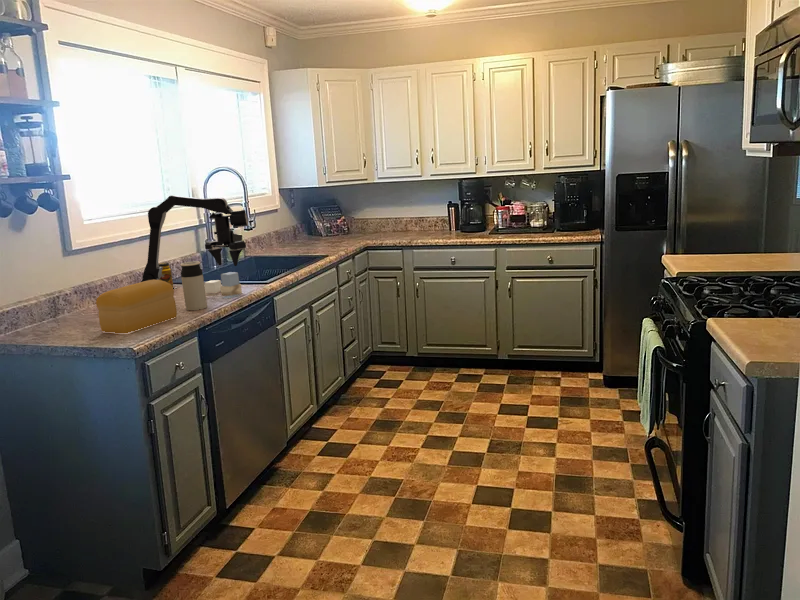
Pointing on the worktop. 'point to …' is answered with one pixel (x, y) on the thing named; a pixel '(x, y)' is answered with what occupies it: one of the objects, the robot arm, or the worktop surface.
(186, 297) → the travel mug
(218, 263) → the robot arm
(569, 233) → the worktop surface
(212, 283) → the cream cube
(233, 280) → the blue cube
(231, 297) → the tile
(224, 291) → the birch block
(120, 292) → the bread
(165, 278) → the condiment
